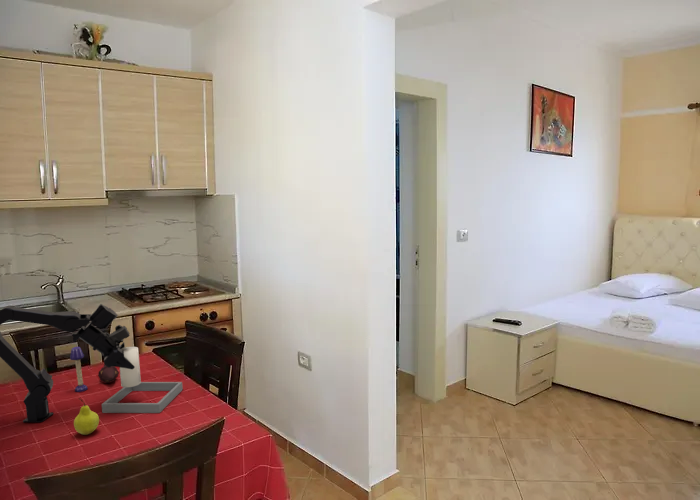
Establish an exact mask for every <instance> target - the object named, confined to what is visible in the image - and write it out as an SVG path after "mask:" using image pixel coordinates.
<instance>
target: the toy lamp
mask: <svg viewBox="0 0 700 500" xmlns="http://www.w3.org/2000/svg"><path fill="white" fill-rule="evenodd" d="M83 358H85V354H84V353H83V350H82V348H81V347H80V346H74V347H72V348H71V350H70V356H69V359H70V361H75V371H76V377H77V378H76V379H77V386H75V388H74V392H76V393H83V392H85V391H87V390H88V386H87V384H84V380H83V379H84V378H83V373H82V371H83V370H82V366H81V365H82V363H81V360H82V359H83Z"/></svg>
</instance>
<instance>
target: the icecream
mask: <svg viewBox="0 0 700 500" xmlns="http://www.w3.org/2000/svg"><path fill="white" fill-rule="evenodd" d="M117 368H118V367H114V366H112V367H109V368H108V367H107V366H105V365H104V364H103V367H101V368H100V370H99V371H98V374H97V376H98V378H99V381H100V382H102V383H103V382H104V383H105V384H108V383H113V382H115V380H116V379H117V378H118V376H119V375H120V371H119V370H118V369H117Z"/></svg>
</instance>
